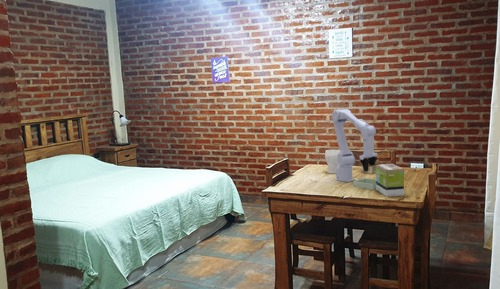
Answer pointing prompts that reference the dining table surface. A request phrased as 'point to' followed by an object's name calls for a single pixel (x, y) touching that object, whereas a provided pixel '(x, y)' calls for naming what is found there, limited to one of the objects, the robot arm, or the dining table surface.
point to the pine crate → (369, 170)
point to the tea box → (390, 180)
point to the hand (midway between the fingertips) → (368, 170)
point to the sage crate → (365, 183)
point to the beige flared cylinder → (332, 160)
